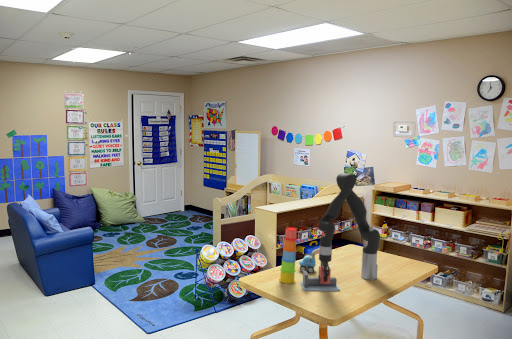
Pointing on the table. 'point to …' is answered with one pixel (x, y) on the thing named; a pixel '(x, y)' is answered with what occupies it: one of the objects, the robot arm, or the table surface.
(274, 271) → the table surface
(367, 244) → the robot arm
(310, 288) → the base board
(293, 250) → the stacking cups
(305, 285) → the coupler rail
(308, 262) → the toy excavator
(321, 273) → the red slotted block
